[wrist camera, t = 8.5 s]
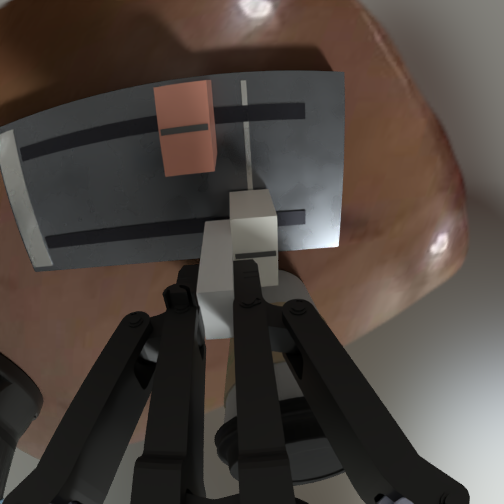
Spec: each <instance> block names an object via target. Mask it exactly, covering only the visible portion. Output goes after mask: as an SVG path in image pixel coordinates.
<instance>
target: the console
mask: <svg viewBox="0 0 504 504" xmlns="http://www.w3.org/2000/svg"><path fill="white" fill-rule="evenodd" d="M203 80H211V85H212V97H213V109H214V120H215V131H216V142H217V159H216V166H215V171H214V172H204V173H194V174H185V175H177V176H168V177H165V171H164V165H163V158H162V151H161V144H160V137H159V129H158V122H157V114H156V105H155V97H154V87H160V86H166V85H172V84H179V83H186V82H194V81H203ZM344 126H345V87H344V72H333V71H256V72H239V73H226V74H215V75H205V76H197V77H189V78H181V79H174V80H168V81H162V82H156V83H150V84H145V85H140V86H134V87H130V88H125V89H120V90H116V91H112V92H107V93H103V94H99V95H95V96H91V97H88V98H84V99H80V100H77V101H73V102H70V103H67V104H63V105H60V106H57V107H54V108H51V109H48V110H45V111H42V112H39V113H36V114H33V115H30V116H27V117H25V118H22V119H19V120H17V121H14V122H12V123H9V124H7V125H4V126H2V127H0V170H1V174H2V177H3V181H4V185H5V188H6V192H7V195H8V199H9V202H10V205H11V208H12V211H13V214H14V217H15V220H16V223H17V226H18V229H19V232H20V235H21V237H22V240H23V243H24V245H25V248H26V251H27V253H28V256H29V258H30V261H31V263H32V265H33V268H34V270H35V272H39V271H52V270H64V269H76V268H88V267H100V266H112V265H124V264H136V263H148V262H160V261H172V260H184V259H196V258H201V250H202V242H203V235H204V227H205V222H206V221H217V220H228V219H230V196H229V192H236V191H248V190H262V189H268V190H269V193H270V196H271V199H272V202H273V205H274V208H275V211H276V214H277V231H278V252H279V251H290V250H302V249H314V248H325V247H337V246H338V244H339V232H340V219H341V204H342V187H343V165H344Z"/></svg>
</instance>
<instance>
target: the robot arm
mask: <svg viewBox="0 0 504 504" xmlns="http://www.w3.org/2000/svg"><path fill="white" fill-rule="evenodd" d="M163 297H164V301H165V304H166V308H167V310H166V312H164V313H162V314H160V315H157V316H153V317H149V315H148V314H147V313H145V312H142V311H136V312H133V313H130V314H128V315H126V316H125V317H124V318H123V319H122V321H121V322H120V324H119V326H118V327H117V329H116V330H115V332H114V333H113V335H112V336H111V338H110V340H109V341H108V343H107V344H106V346H105V347H104V349H103V351H102V352H101V354H100V356H99V357H98V359H97V360H96V362H95V364H94V365H93V367H92V369H91V370H90V372H89V374H88V375H87V377H86V379H85V380H84V382H83V384H82V385H81V387H80V389H79V390H78V392H77V394H76V396H75V397H74V399H73V401H72V402H71V404H70V406H69V408H68V409H67V411H66V413H65V415H64V417H63V418H62V420H61V422H60V424H59V426H58V427H57V429H56V431H55V433H54V435H53V437H52V438H51V440H50V442H49V444H48V446H47V448H46V450H45V452H44V454H43V456H42V457H41V459H40V462H39V463H38V465H37V467H36V469H34V470H33V471H32V472H31V473H30V475H28V476H27V477H26V478H25V479H24V480H23V481H22V482H21V483H20V484H19V485H18V486H17V487H16V488H15V489H14V490H13V491H12V492H11V493H9V495H7V497H6V498H5V499H4V498H3V494H4V490H5V486H6V482H7V478H8V474H9V470H10V466H11V463H12V459H13V455H14V452H15V449H16V445H17V442H18V440H19V439H20V437H21V436H22V435H23V434H24V432H25V431H26V430H27V428H28V427H29V425H30V424H31V422H32V421H33V420H35V419H36V418H37V417H38V415H39V414H40V411H41V408H42V405H43V397H42V394H41V392H40V391H39V389H38V388H37V386H36V385H35V384H34V383H33V381H32V380H31V379H30V378H29V377H28V376H27V375H26V374H25V373H24V372H23V371H22V370H21V369H19V368H18V367H17V366H16V365H15V364H13V363H12V362H11V361H9V360H8V359H7V358H5V357H4V356H2V355H1V354H0V504H103V502H104V500H105V498H106V496H107V494H108V491H109V488H110V486H111V484H112V481H113V479H114V477H115V474H116V472H117V469H118V467H119V465H120V462H121V460H122V457H123V455H124V453H125V450H126V448H127V446H128V443H129V441H130V439H131V436H132V434H133V432H134V430H135V427H136V425H137V423H138V420H139V418H140V416H141V414H142V411H143V409H144V407H145V405H146V402H147V400H148V398H149V396H150V393H151V391H152V393H151V400H150V406H149V413H148V420H147V427H146V435H145V444H144V451H143V454H142V456H140V457H138V458H137V460H136V462H135V466H134V474H133V483H132V493H131V503H130V504H308V503H307V502H305V501H302V500H300V499H298V498H295V496H294V490H293V482H292V476H291V469H290V462H289V457H288V454H287V451H286V446H285V439H284V432H283V425H282V418H281V411H280V404H279V398H278V391H277V384H276V377H275V370H274V363H273V357H272V351H274V352H281V353H282V355H283V357H284V359H285V361H286V363H287V365H288V367H289V369H290V371H291V372H292V374H293V376H294V378H295V380H296V382H297V384H298V386H299V387H300V389H301V391H302V393H303V395H304V397H305V399H306V401H307V402H308V404H309V406H310V408H311V410H312V412H313V414H314V415H315V417H316V419H317V421H318V423H319V425H320V427H321V428H322V430H323V432H324V434H325V436H326V438H327V439H328V441H329V443H330V445H331V447H332V449H333V450H334V452H335V454H336V456H337V458H338V460H339V461H340V463H341V465H342V467H343V469H344V470H345V472H346V474H347V476H348V477H349V479H350V481H351V483H352V485H353V487H354V488H355V490H356V491H357V493H358V494H359V496H360V497H361V499H362V500H363V501H364V502H365V503H366V504H469V501H470V496H469V493H468V490H467V489H466V488H465V487H464V486H463V485H462V484H460V483H459V482H457V481H456V480H454V479H453V478H451V477H450V476H448V475H447V474H445V473H444V472H442V471H441V470H439V469H438V468H436V467H435V466H434V465H432V464H430V463H429V462H428V461H426V460H425V459H423V458H422V457H420V456H419V455H418V454H417V452H416V450H415V449H414V447H413V446H412V444H411V443H410V442H409V440H408V439H407V437H406V436H405V435H404V433H403V431H402V430H401V429H400V427H399V426H398V424H397V423H396V421H395V420H394V419H393V417H392V416H391V414H390V413H389V411H388V410H387V408H386V407H385V406H384V404H383V403H382V401H381V400H380V398H379V397H378V396H377V394H376V393H375V391H374V390H373V388H372V387H371V386H370V384H369V383H368V381H367V380H366V378H365V377H364V376H363V374H362V373H361V371H360V370H359V369H358V367H357V366H356V365H355V363H354V362H353V360H352V359H351V357H350V356H349V355H348V354H347V352H346V350H345V349H344V348H343V346H342V345H341V343H340V342H339V341H338V339H337V338H336V336H335V335H334V334H333V332H332V331H331V329H330V328H329V327H328V325H327V324H326V322H325V321H324V320H323V318H322V317H321V316H320V314H319V313H318V311H317V310H316V309H315V307H314V306H313V305H312V304H311V303H310V302H309V301H307V300H304V299H292V300H289V301H287V302H286V303H285V304H284V305H283V306H277V305H272V304H270V303H268V302H267V301H265V299H264V298H263V296H262V290H261V283H260V277H259V270H258V264H257V263H256V262H255V261H254V260H253V259H248V260H236V261H234V254H233V245H232V235H231V227H230V219H228V220H217V221H206V222H205V227H204V235H203V242H202V250H201V258H200V264H196V265H184V266H183V267H182V268H181V270H180V271H179V273H178V279H177V283H176V284H173V285H171V286H169V287H167V288H166V289H165V290H164V292H163ZM205 336H206V339H222V338H234V357H235V383H236V406H237V427H238V447H239V457H238V476H239V494H235V495H232V496H228V497H224V498H220V499H208V498H206V492H205V487H204V481H203V447H204V446H203V445H204V441H203V440H204V439H203V438H204V395H205V365H206V345H205V341H204V339H205ZM3 499H4V501H3ZM2 502H3V503H2Z"/></svg>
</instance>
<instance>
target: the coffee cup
mask: <svg viewBox="0 0 504 504" xmlns="http://www.w3.org/2000/svg"><path fill="white" fill-rule="evenodd" d="M261 290H262V296H263V298H264V299H265V301H267V302H268V303H270V304H272V305H277V306H283V305H284V304H285V303H286V302H287V301H289V300H292V299H304V300H307V301H309V302H310V303H311V304H312V305H313V306H314V307H315V309H316V310H317V308H316V306H315V304H314V302H313V300H312V299H311V297H310V295H309V293H308V291H307V289H306V287H305V285H304V284H303V282H302V281H301V280H300V279H299V278H298V277H296V276H295V275H293V274H291V273H289V272H286V271H283V270H278V285H276V286H265V287H261ZM317 311H318V310H317ZM318 313H319V312H318ZM320 316H321V315H320ZM321 317H322V316H321ZM322 318H323V317H322ZM323 320H324V318H323ZM324 321H325V320H324ZM325 322H326V321H325ZM326 324H327V323H326ZM272 357H273V363H274V370H275V377H276V384H277V391H278V398H279V404H280V411H281V418H282V425H283V432H284V439H285V446H286V451H287V454H288V457H289V462H290V469H291V476H292V482H293V486H296V485H303V484H308V483H313V482H317V481H321V480H324V479H328V478H330V477H334V476H336V475H339V474H341V473H344V472H345V470H344V469H343V467H342V465H341V463H340V461H339V460H338V458H337V456H336V454H335V452H334V450H333V449H332V447H331V445H330V443H329V441H328V439H327V438H326V436H325V434H324V432H323V430H322V428H321V427H320V425H319V423H318V421H317V419H316V417H315V415H314V414H313V412H312V410H311V408H310V406H309V404H308V402H307V401H306V399H305V397H304V395H303V393H302V391H301V389H300V387H299V386H298V384H297V382H296V380H295V378H294V376H293V374H292V372H291V371H290V369H289V367H288V365H287V363H286V361H285V359H284V357H283V355H282V353H281V352H274V351H272ZM224 407H225V420H224V424H223V425H222V426H221V427H220V429H219V430H218V431H217V433H216V435H215V445H216V447H217V454H218V456H219V458H220V459H221V461H223V462H224V463H225V464H226V465H228V466H229V470H230V473H231V475H232V476H233V478H235V479H236V480H238V481H239V476H238V457H239V447H238V427H237V406H236V383H235V357H234V338H230V346H229V356H228V365H227V374H226V383H225V393H224Z"/></svg>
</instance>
